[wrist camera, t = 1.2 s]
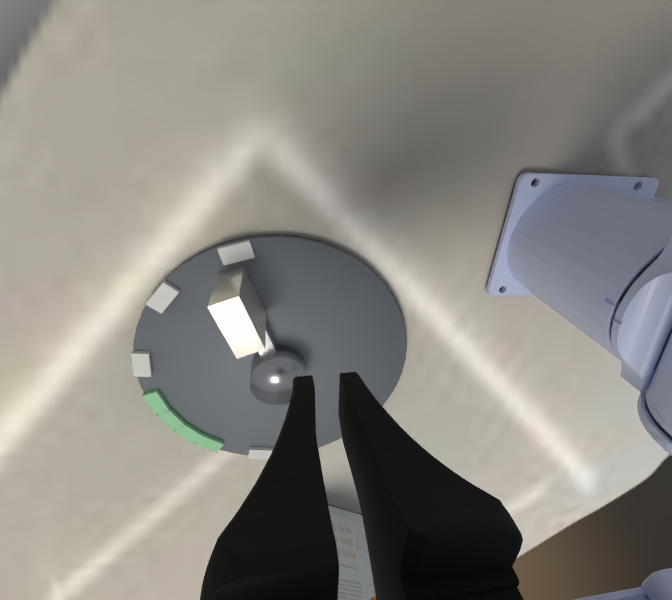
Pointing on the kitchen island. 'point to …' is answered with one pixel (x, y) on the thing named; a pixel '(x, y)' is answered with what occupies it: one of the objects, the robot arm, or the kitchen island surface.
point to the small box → (352, 556)
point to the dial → (286, 329)
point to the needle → (254, 337)
